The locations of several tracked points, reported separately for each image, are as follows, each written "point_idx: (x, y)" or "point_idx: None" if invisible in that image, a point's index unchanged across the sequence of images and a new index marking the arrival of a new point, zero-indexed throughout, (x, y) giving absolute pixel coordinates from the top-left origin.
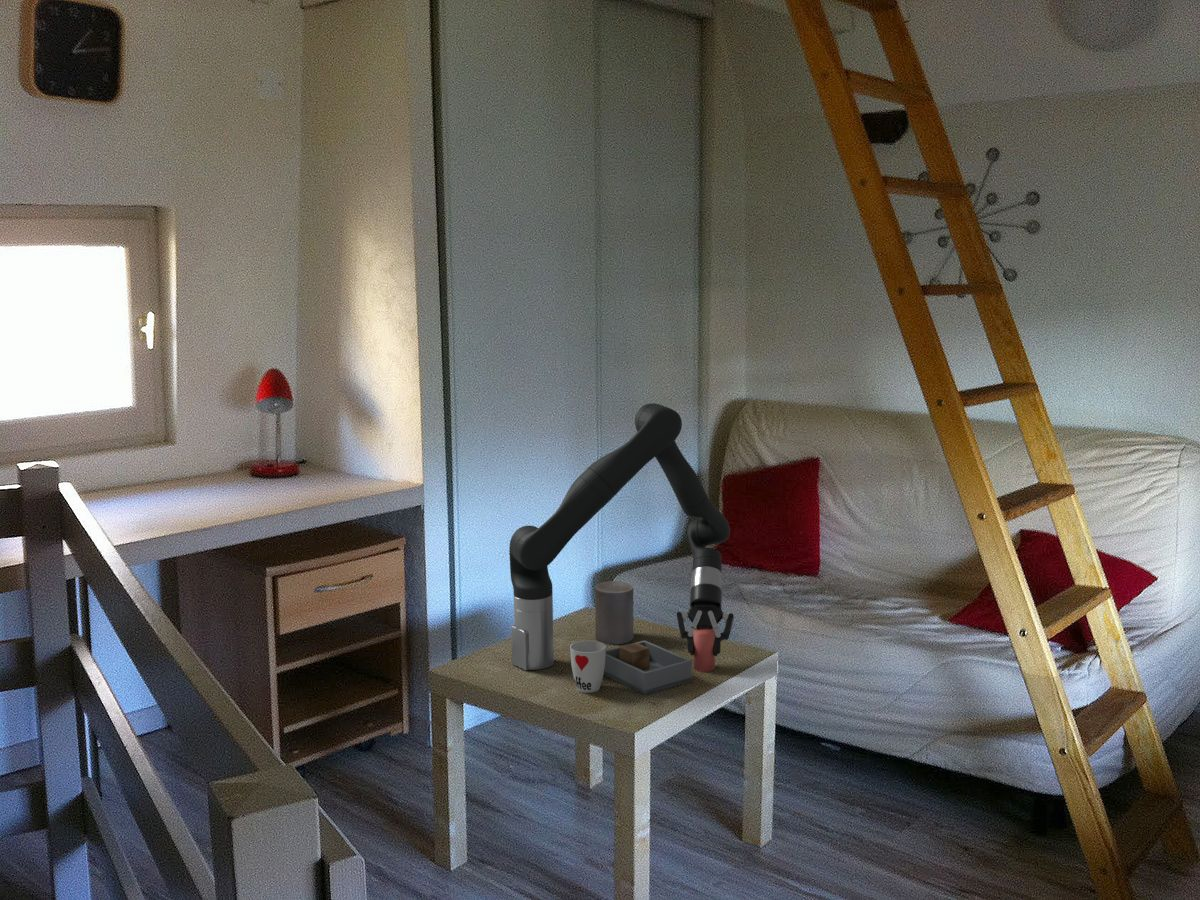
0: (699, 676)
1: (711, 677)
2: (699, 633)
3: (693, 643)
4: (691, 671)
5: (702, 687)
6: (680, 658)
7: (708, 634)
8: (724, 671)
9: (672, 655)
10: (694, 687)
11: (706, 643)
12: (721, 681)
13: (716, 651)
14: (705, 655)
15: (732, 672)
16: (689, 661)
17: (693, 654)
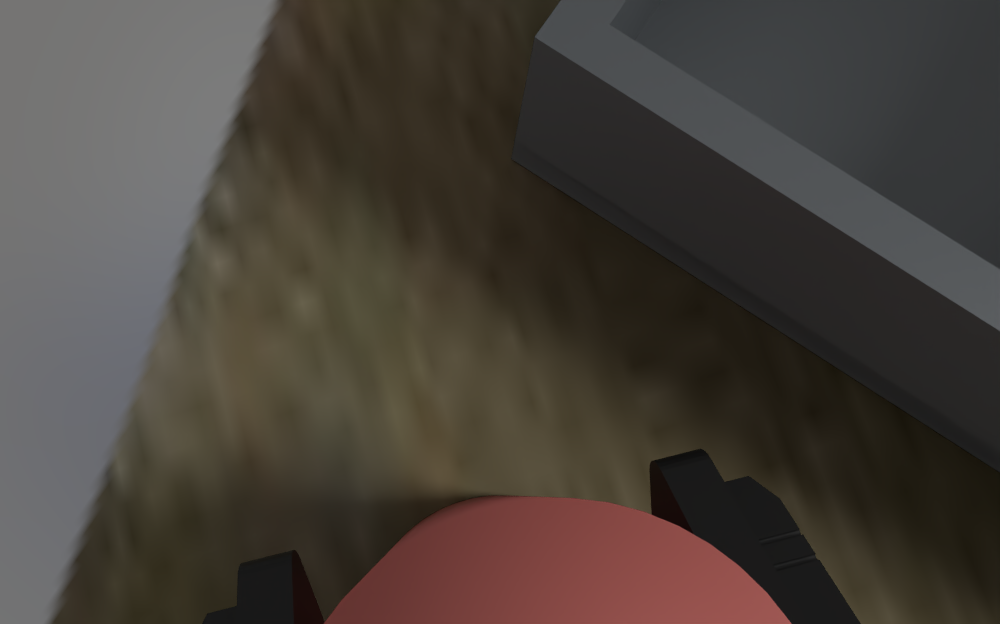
0: (474, 341)
1: (327, 355)
2: (634, 610)
3: None
4: (525, 106)
5: (348, 30)
6: (740, 118)
7: (385, 609)
8: None
9: (906, 223)
10: (432, 5)
11: (425, 527)
12: (179, 266)
13: (249, 563)
14: (445, 511)
15: (105, 616)
16: (561, 4)
17: None
